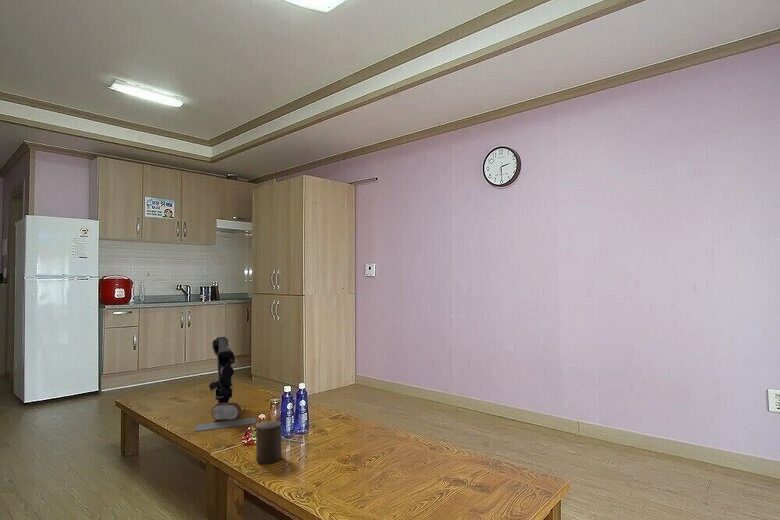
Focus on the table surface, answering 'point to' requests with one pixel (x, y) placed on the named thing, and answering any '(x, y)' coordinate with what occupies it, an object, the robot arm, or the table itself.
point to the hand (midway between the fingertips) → (226, 404)
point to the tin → (226, 411)
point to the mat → (225, 424)
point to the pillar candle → (268, 442)
